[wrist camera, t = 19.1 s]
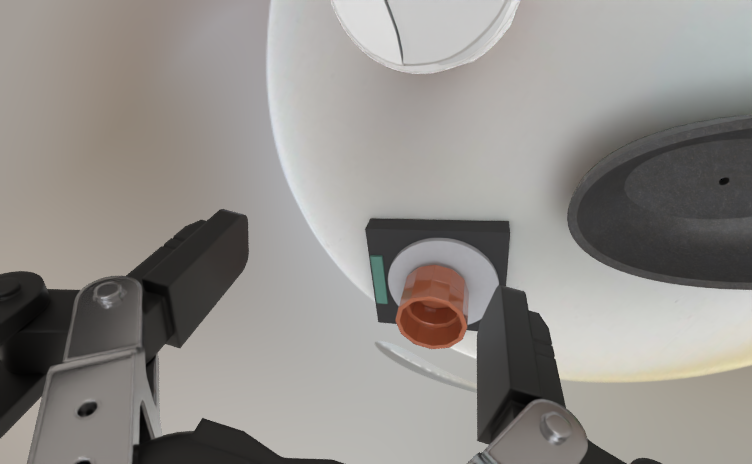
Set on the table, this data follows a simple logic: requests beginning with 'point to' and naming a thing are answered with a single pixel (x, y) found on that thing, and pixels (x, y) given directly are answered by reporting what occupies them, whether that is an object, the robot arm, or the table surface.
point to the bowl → (673, 206)
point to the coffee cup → (425, 30)
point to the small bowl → (433, 307)
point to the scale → (437, 258)
